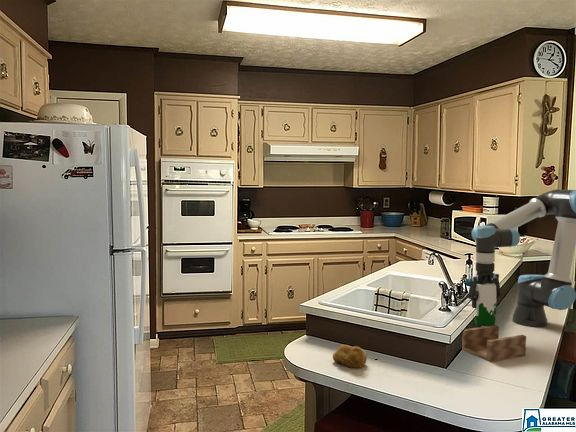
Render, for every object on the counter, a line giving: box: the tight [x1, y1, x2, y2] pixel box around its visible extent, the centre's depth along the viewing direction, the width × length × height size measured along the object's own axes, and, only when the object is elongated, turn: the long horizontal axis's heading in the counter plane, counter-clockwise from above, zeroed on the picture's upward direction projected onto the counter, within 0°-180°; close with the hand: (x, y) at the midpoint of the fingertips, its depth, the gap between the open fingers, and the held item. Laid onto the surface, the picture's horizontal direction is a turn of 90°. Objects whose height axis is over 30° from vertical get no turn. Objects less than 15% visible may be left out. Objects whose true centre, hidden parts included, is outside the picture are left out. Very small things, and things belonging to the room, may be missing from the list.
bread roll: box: [332, 344, 368, 369], centre depth 184 cm, size 13×10×8 cm
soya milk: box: [473, 279, 497, 327], centre depth 214 cm, size 9×9×20 cm
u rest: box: [461, 324, 527, 363], centre depth 198 cm, size 18×16×8 cm
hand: (484, 313), depth 214 cm, fingers closed on soya milk, 9 cm apart
